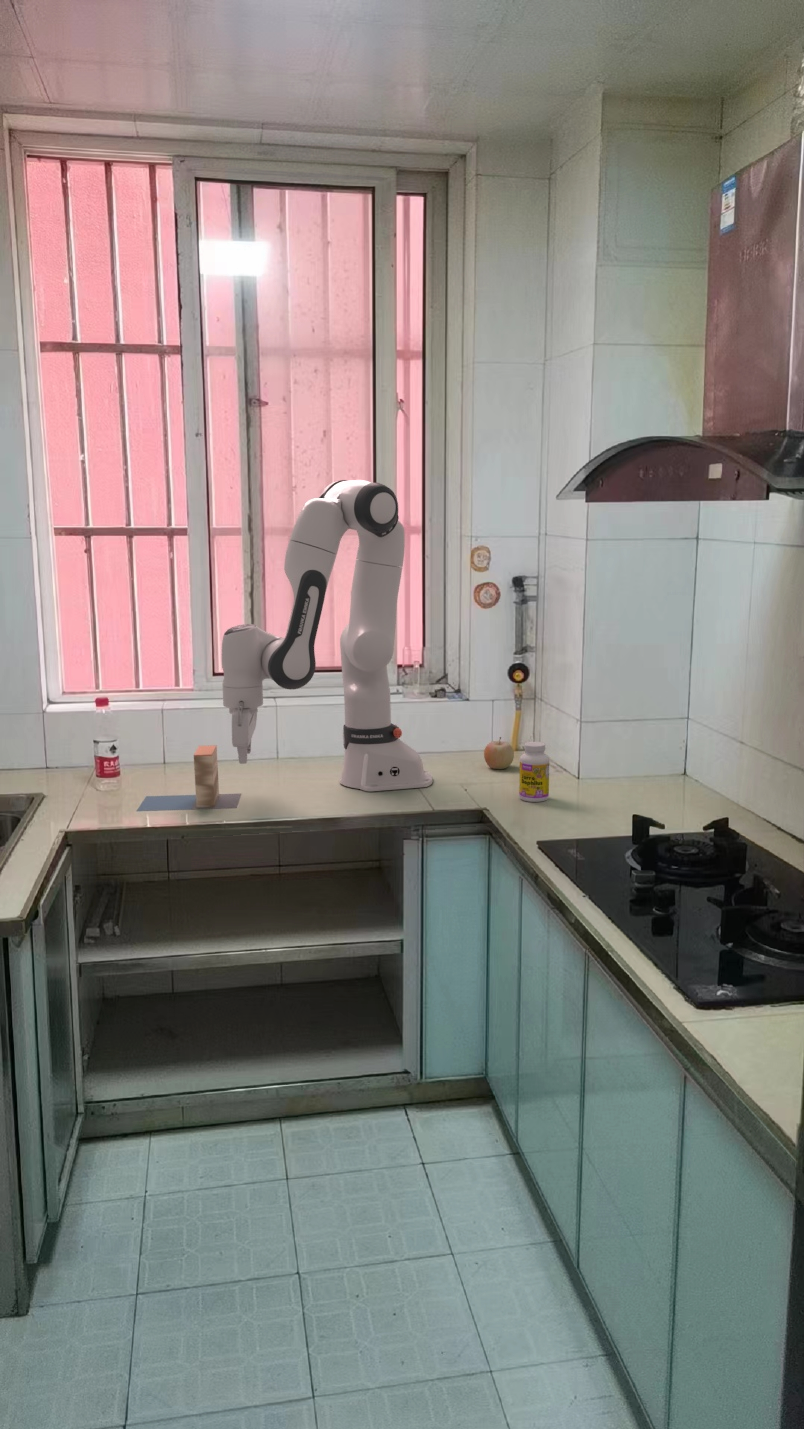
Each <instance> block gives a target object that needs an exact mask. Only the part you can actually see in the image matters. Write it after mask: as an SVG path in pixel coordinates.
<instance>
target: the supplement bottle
mask: <svg viewBox="0 0 804 1429" xmlns="http://www.w3.org/2000/svg"><path fill="white" fill-rule="evenodd" d="M523 748H524V749H523V750H524V751H525V752H524V753H523V754H521V755H520V757H519V779H518V780H519V781H518V782H519V787H518V788H519V789H518V790H519V791H518V794H519V795H518V796H519V799H521V801H524V802H530V803H540V802H545V801H547V800H548V799H549V796H550V793H549V792H550V756H548V755H547V754H546V753H545V751H546V744H545V743H544V742H543V741H542V742H541V741H527V742H524V747H523Z"/></svg>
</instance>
